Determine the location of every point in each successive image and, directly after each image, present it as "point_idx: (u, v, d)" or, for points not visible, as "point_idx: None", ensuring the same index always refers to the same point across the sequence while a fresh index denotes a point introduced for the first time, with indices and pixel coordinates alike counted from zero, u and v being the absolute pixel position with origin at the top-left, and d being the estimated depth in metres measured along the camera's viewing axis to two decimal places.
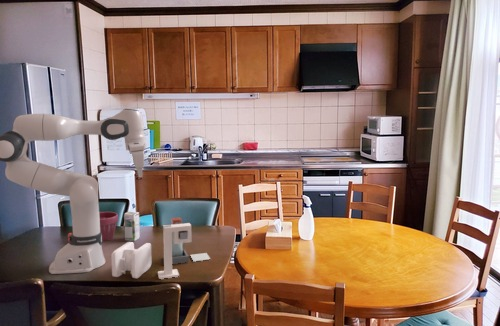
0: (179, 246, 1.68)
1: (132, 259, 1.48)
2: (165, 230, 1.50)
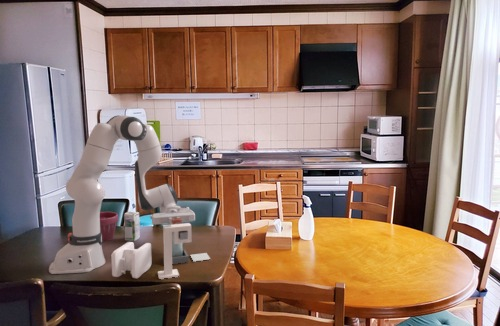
0: (179, 246, 1.68)
1: (132, 259, 1.48)
2: (165, 230, 1.50)
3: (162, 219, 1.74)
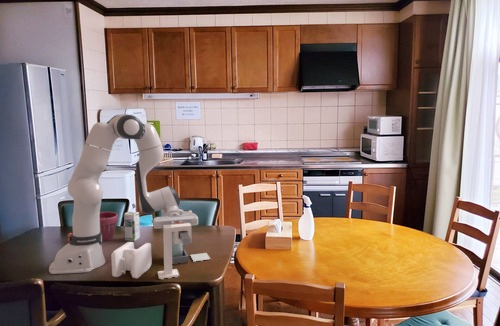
0: (179, 246, 1.68)
1: (132, 259, 1.48)
2: (165, 230, 1.50)
3: (164, 223, 1.67)
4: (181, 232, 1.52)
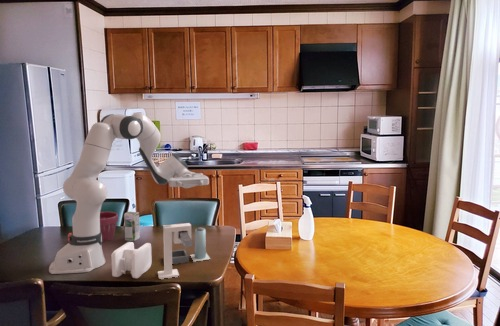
0: (203, 242, 1.71)
1: (132, 259, 1.48)
2: (165, 230, 1.50)
3: None
4: (182, 234, 1.50)
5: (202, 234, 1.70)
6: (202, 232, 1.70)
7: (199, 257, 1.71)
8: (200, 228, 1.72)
